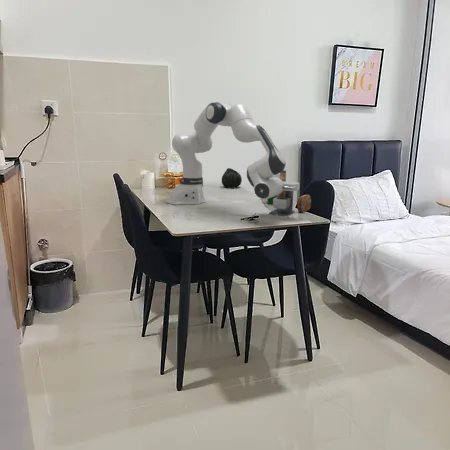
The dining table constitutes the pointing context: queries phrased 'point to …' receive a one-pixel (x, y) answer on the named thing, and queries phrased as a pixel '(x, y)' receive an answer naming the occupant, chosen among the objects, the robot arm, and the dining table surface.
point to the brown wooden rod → (283, 178)
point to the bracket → (283, 205)
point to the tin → (304, 203)
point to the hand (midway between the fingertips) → (283, 183)
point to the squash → (231, 178)
